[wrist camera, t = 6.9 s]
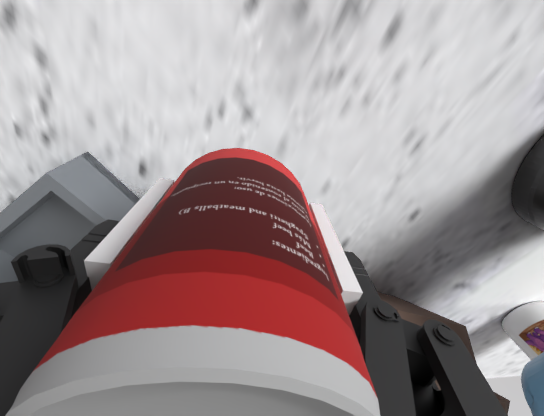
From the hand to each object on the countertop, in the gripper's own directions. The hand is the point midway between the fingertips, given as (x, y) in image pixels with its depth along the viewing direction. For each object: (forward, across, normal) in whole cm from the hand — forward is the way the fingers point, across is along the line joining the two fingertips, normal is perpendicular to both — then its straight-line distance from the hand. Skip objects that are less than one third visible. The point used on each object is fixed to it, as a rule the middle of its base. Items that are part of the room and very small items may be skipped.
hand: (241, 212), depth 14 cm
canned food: (0, 0, 0) cm, 0 cm away
